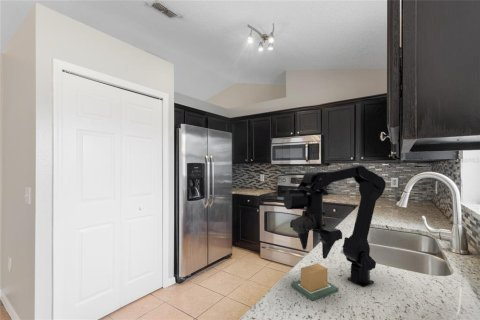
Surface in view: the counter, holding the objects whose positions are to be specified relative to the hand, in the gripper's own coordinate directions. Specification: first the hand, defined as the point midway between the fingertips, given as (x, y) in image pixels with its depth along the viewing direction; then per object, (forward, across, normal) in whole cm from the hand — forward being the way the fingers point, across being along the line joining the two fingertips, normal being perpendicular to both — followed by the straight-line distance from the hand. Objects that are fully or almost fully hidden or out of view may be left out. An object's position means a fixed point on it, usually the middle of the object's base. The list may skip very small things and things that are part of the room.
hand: (314, 253), depth 79 cm
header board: (+12, 0, 0) cm, 12 cm away
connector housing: (+11, 0, 0) cm, 11 cm away
